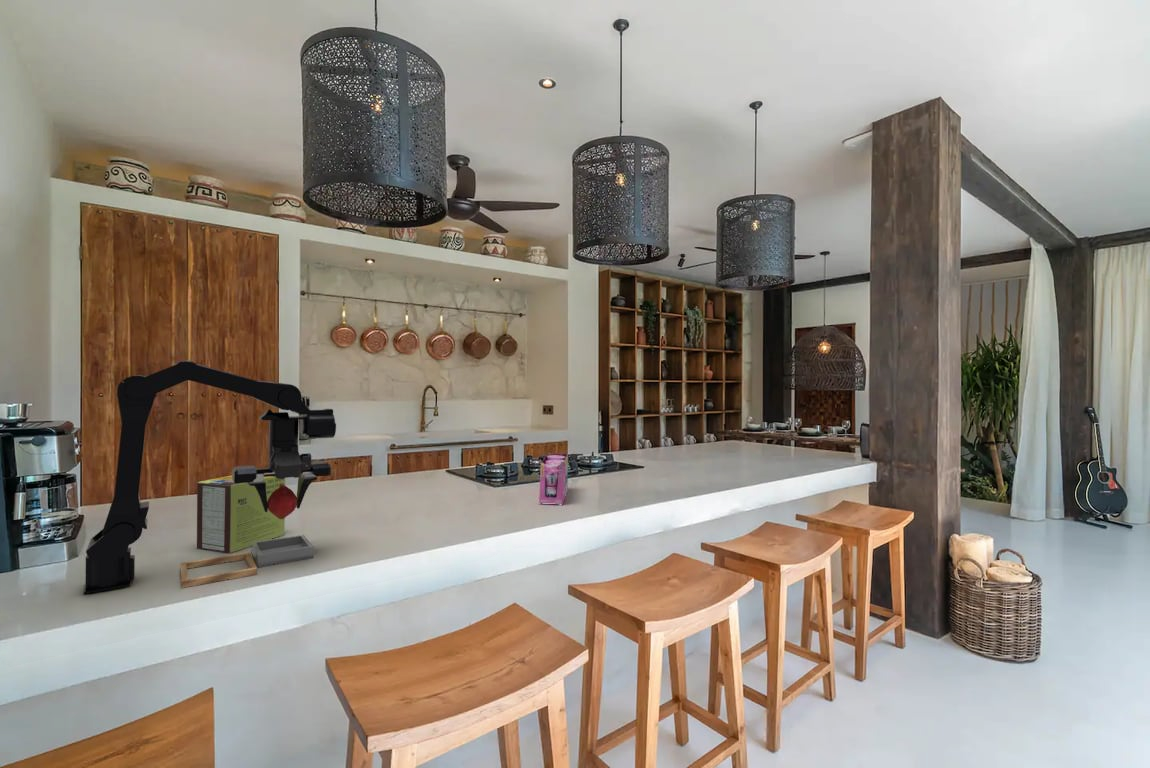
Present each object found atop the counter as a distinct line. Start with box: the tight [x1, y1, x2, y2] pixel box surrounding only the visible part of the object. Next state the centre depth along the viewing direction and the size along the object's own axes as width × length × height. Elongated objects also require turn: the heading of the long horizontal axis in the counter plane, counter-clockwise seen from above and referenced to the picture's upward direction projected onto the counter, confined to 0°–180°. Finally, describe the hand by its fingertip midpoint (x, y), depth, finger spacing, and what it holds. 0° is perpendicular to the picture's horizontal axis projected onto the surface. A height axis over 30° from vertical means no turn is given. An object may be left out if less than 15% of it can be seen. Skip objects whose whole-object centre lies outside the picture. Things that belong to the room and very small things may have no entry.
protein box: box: [196, 474, 286, 554], centre depth 127 cm, size 10×15×16 cm
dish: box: [251, 534, 314, 568], centre depth 117 cm, size 11×11×2 cm
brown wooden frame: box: [180, 551, 258, 589], centre depth 107 cm, size 12×12×1 cm
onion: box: [267, 483, 297, 519], centre depth 117 cm, size 6×6×8 cm
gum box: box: [538, 453, 569, 505], centre depth 179 cm, size 24×8×14 cm, turn 177°
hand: (282, 509), depth 117 cm, fingers closed on onion, 6 cm apart
